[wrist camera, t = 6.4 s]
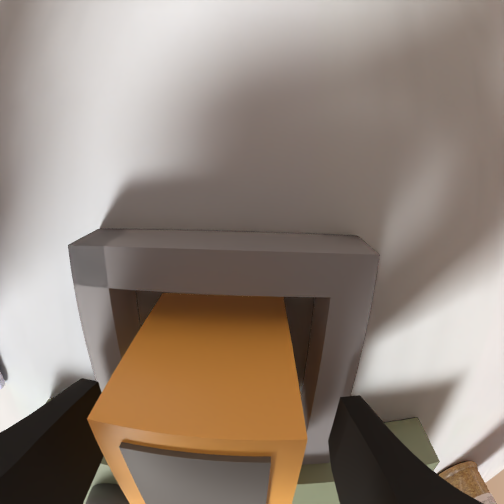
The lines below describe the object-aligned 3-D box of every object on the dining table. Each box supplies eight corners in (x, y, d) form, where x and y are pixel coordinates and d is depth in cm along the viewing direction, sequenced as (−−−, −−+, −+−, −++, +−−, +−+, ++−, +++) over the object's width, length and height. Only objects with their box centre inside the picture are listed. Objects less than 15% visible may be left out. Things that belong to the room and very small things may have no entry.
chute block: (178, 408, 12) (144, 532, 6) (163, 292, 10) (83, 424, 5) (274, 412, 12) (281, 544, 6) (283, 296, 10) (308, 445, 5)
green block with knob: (92, 482, 15) (70, 538, 10) (3, 228, 10) (-88, 270, 5) (373, 497, 15) (388, 558, 10) (472, 242, 10) (566, 294, 5)
